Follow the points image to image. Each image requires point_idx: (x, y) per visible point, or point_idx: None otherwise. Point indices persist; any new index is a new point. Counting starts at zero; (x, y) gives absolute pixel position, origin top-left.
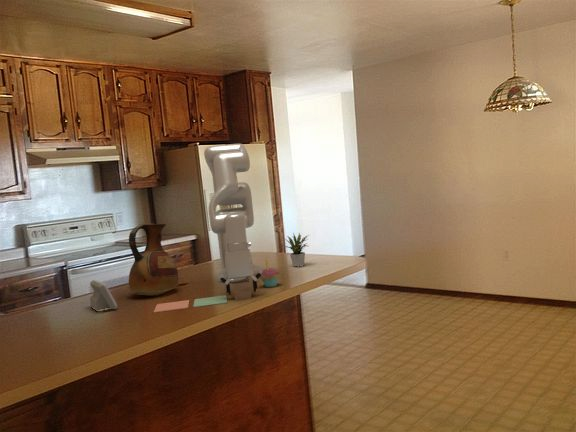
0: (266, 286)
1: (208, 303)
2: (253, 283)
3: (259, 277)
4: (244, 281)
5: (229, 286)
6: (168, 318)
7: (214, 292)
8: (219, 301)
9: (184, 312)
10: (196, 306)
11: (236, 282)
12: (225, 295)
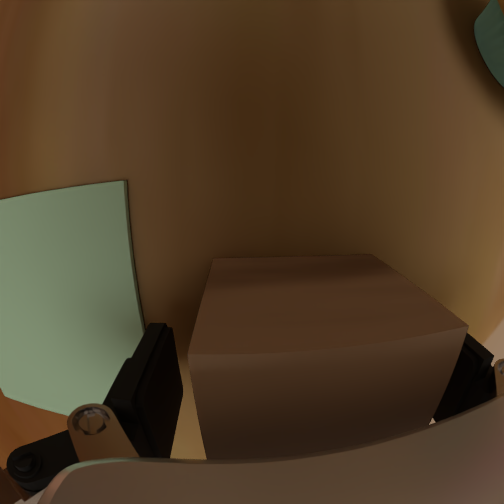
0: (490, 66)
1: (49, 389)
2: (436, 421)
3: (502, 4)
4: (374, 440)
5: (164, 455)
6: (7, 456)
7: (54, 2)
8: (105, 388)
9: (14, 434)
10: (15, 399)
11: (259, 455)
12: (116, 192)
